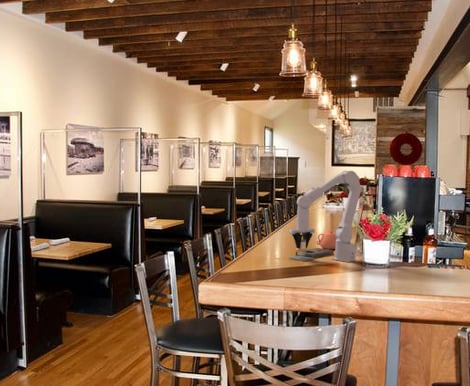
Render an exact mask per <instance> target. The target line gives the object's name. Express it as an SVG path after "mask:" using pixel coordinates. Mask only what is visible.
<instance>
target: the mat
mask: <svg viewBox="0 0 470 386" xmlns="http://www.w3.org/2000/svg"><path fill="white" fill-rule="evenodd" d="M288 258H289V260H294V261H301V262H308V261H313V260H314V259H315V258H309V257H303V256H296V255H294V256H291V257H288Z"/></svg>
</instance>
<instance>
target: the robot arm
mask: <svg viewBox="0 0 470 386" xmlns="http://www.w3.org/2000/svg"><path fill="white" fill-rule="evenodd" d="M340 184H343V185H345V186H346V188H347V189H348V191H349V193H348V197H347V201H346V203H345V207H344V211H343V213H342V214H343V215H342V218H341V221H340V222H339V224H338V227H337V228H336V230H335V231H334V233H335V236H336V238H337V240H336V249H335V250H334V255H335V256H334V257H332V258H331V260H334V261H339V262H345V263H350V262H354V261H357V259H356V257H357V255H356V254H357V253H356V252H357V251H356V250H357V247H356V244H355V243H352V242H351V240H352V239H353V221H354V217H355V214H356V211H357V207H358V203H359V199H360V196H361V192H362V187H361V183H360V177H359V175H358V174H357V173H356V172H355V171H353V170H343V171H342V172H340V173H337V174H335V175H334V176H333V177H332V178H330V179H329V180H327V181H326V182H324V183H323V184H322V185H321V186H312V187H311V189H310V190H308V191H307V192H304V193H303V195H300V196H298V197H297V200H296V205H297V212H296V213H297V214H296V228H293V229H289V234H290V235H292V237H293V240H294V243H295V246H296V247H295V249H296V248H300V247H301V239H306V248H307V249H308V246H309V244H310V243H309V242H310V240H311V239H312V237H313V234H314V233H316V230H315V228H309V220H310V206H311V204H313V203H314V202H316V201H317V200H319V199H321V198H322V197H323V196H324V193H325V192H327V191H328V190H330V189H332V188H333V187H334V186H336V185H340Z"/></svg>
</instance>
